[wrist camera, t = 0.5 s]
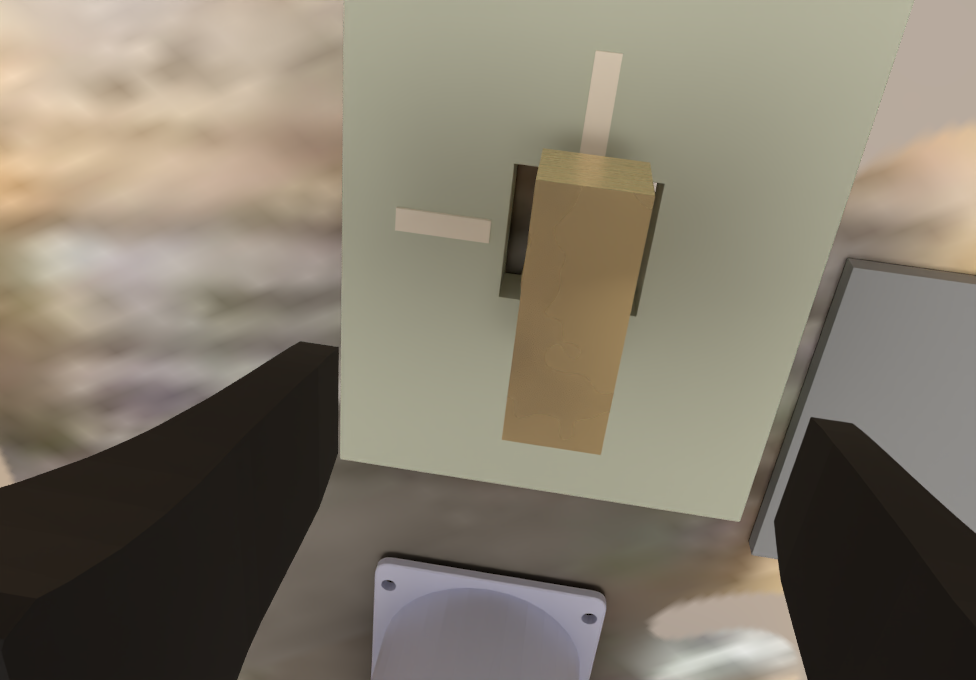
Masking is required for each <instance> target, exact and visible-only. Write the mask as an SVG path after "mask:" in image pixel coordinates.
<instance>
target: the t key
mask: <svg viewBox="0 0 976 680" xmlns="http://www.w3.org/2000/svg"><path fill="white" fill-rule="evenodd" d="M654 199H655V191H654V185H653V178H652V172H651V165H650V162H643V161H635V160H628V159H620V158H613V157H605V156H597V155H590V154H582V153H575V152H567V151H560V150H552V149H545V148H543V150H542V155H541V159H540V163H539V168H538V172H537V176H536V181H535V189H534V197H533V204H532V212H531V219H530V227H529V235H528V242H527V250H526V257H525V262H524V267H523V272H522V276H521V296H520V303H519V311H518V318H517V326H516V334H515V341H514V349H513V357H512V364H511V372H510V379H509V387H508V395H507V402H506V410H505V417H504V425H503V433H502V440H506V441H512V442H519V443H525V444H532V445H538V446H545V447H551V448H558V449H564V450H571V451H577V452H584V453H590V454H597V455H601V452H602V447H603V442H604V437H605V433H606V428H607V423H608V418H609V414H610V409H611V404H612V399H613V395H614V390H615V385H616V380H617V375H618V371H619V366H620V361H621V356H622V352H623V347H624V342H625V337H626V333H627V328H628V323H629V318H630V313H631V309H632V304H633V299H634V294H635V290H636V285H637V280H638V275H639V271H640V266H641V261H642V256H643V252H644V247H645V242H646V237H647V232H648V228H649V223H650V218H651V213H652V209H653V204H654Z"/></svg>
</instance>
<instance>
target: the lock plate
mask: <svg viewBox="0 0 976 680" xmlns="http://www.w3.org/2000/svg"><path fill="white" fill-rule="evenodd" d="M913 3H914V0H344V22H343V152H342V283H341V413H340V459H344V460H350V461H357V462H363V463H369V464H376V465H382V466H388V467H395V468H401V469H407V470H414V471H420V472H426V473H433V474H439V475H445V476H452V477H458V478H464V479H471V480H477V481H484V482H490V483H496V484H503V485H509V486H515V487H522V488H528V489H534V490H541V491H547V492H553V493H560V494H566V495H572V496H579V497H585V498H591V499H598V500H604V501H610V502H617V503H623V504H629V505H636V506H642V507H648V508H655V509H661V510H667V511H674V512H680V513H687V514H693V515H699V516H706V517H712V518H718V519H725V520H731V521H737V522H740V520H741V517H742V514H743V511H744V508H745V505H746V502H747V499H748V496H749V493H750V490H751V487H752V484H753V481H754V478H755V475H756V472H757V469H758V466H759V463H760V460H761V457H762V454H763V451H764V448H765V445H766V442H767V439H768V436H769V433H770V430H771V427H772V424H773V421H774V418H775V415H776V412H777V409H778V406H779V403H780V400H781V397H782V394H783V391H784V388H785V385H786V382H787V379H788V376H789V373H790V370H791V367H792V364H793V361H794V358H795V355H796V352H797V349H798V346H799V343H800V340H801V337H802V334H803V331H804V329H805V326H806V323H807V320H808V317H809V314H810V311H811V308H812V305H813V302H814V299H815V296H816V293H817V290H818V287H819V284H820V281H821V278H822V275H823V272H824V269H825V266H826V263H827V260H828V257H829V254H830V251H831V248H832V245H833V242H834V239H835V236H836V233H837V230H838V227H839V224H840V221H841V218H842V215H843V212H844V209H845V206H846V203H847V200H848V197H849V194H850V191H851V188H852V185H853V182H854V179H855V176H856V173H857V170H858V167H859V164H860V161H861V158H862V155H863V152H864V149H865V146H866V143H867V140H868V137H869V134H870V131H871V129H872V126H873V122H874V119H875V116H876V113H877V111H878V108H879V104H880V102H881V99H882V96H883V93H884V90H885V87H886V84H887V81H888V78H889V75H890V72H891V69H892V66H893V63H894V60H895V57H896V54H897V51H898V48H899V45H900V42H901V39H902V36H903V33H904V30H905V27H906V24H907V21H908V18H909V15H910V12H911V9H912V6H913ZM543 148H545V149H552V150H560V151H567V152H575V153H582V154H590V155H597V156H605V157H613V158H620V159H628V160H635V161H643V162H650V165H651V172H652V178H653V182H657V187H656V192H655V199H654V204H653V209H652V213H651V218H650V223H649V228H648V232H647V237H646V242H645V247H644V252H643V256H642V261H641V266H640V271H639V275H638V280H637V285H636V290H635V294H634V299H633V304H632V309H631V313H630V318H629V323H628V328H627V333H626V337H625V342H624V347H623V352H622V356H621V361H620V366H619V371H618V375H617V380H616V385H615V390H614V395H613V399H612V404H611V409H610V414H609V418H608V423H607V428H606V433H605V437H604V442H603V447H602V452H601V455H597V454H590V453H584V452H577V451H571V450H564V449H558V448H551V447H545V446H538V445H532V444H525V443H519V442H512V441H506V440H502V433H503V425H504V417H505V410H506V402H507V395H508V387H509V379H510V372H511V364H512V357H513V349H514V341H515V334H516V326H517V318H518V311H519V303H520V296H521V276H522V275H517V274H510V273H505V267H506V259H507V250H508V242H509V234H510V225H511V217H512V208H513V200H514V191H515V183H516V175H517V166H518V164H522V165H529V166H537V167H539V163H540V159H541V155H542V150H543Z"/></svg>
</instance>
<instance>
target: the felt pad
mask: <svg viewBox="0 0 976 680" xmlns="http://www.w3.org/2000/svg"><path fill="white" fill-rule="evenodd" d="M811 417H815V418H821V419H828V420H835V421H842V422H848V423H853V424H854V425H856V426H857V427H858V428H859V429H861V430H862V431H863V432H864V433H865V434H867V435H868V436H869V437H870V438H871V439H872V440H873V441H875V442H876V443H877V444H878V445H879V446H880V447H881V448H882V449H883V450H884V451H886V452H887V453H888V454H889V455H890V456H891V457H892V458H893V459H894V460H895V461H896V462H897V463H898V464H900V465H901V466H902V467H903V468H904V469H905V470H906V471H907V472H908V473H909V474H910V475H911V476H912V477H913V478H915V479H916V480H917V481H918V482H919V483H920V484H921V485H922V486H923V487H924V488H925V489H926V490H928V491H929V492H930V493H931V494H932V495H933V496H934V497H935V498H936V499H937V500H939V501H940V502H941V503H942V504H943V505H944V506H945V507H946V508H947V509H949V510H950V511H951V512H952V513H953V514H954V515H955V516H956V517H958V518H959V519H960V520H961V521H962V522H963V523H965V524H966V525H967V526H968V527H969V528H970V529H971V530H973V531H974V532H975V533H976V276H975V275H967V274H960V273H953V272H946V271H938V270H931V269H924V268H917V267H909V266H902V265H895V264H887V263H880V262H873V261H866V260H858V259H851V258H847V261H846V264H845V267H844V270H843V273H842V275H841V278H840V281H839V284H838V287H837V290H836V293H835V296H834V298H833V301H832V304H831V307H830V310H829V313H828V316H827V319H826V321H825V324H824V327H823V330H822V333H821V336H820V339H819V342H818V344H817V347H816V350H815V353H814V356H813V359H812V362H811V365H810V367H809V370H808V373H807V376H806V379H805V382H804V385H803V388H802V390H801V393H800V396H799V399H798V402H797V405H796V408H795V411H794V413H793V416H792V419H791V422H790V425H789V428H788V431H787V433H786V436H785V439H784V442H783V445H782V448H781V451H780V454H779V456H778V459H777V462H776V465H775V468H774V471H773V474H772V477H771V479H770V482H769V485H768V488H767V491H766V494H765V497H764V500H763V502H762V505H761V508H760V511H759V514H758V517H757V520H756V523H755V525H754V528H753V531H752V534H751V537H750V540H749V545H750V549H751V554H752V555H755V556H761V557H767V558H774V559H778V556H777V547H776V538H775V528H774V519H775V516H776V513H777V510H778V508H779V505H780V502H781V499H782V496H783V494H784V491H785V488H786V485H787V482H788V480H789V477H790V474H791V471H792V468H793V466H794V463H795V460H796V457H797V454H798V452H799V449H800V446H801V443H802V440H803V437H804V435H805V432H806V429H807V426H808V423H809V421H810V418H811Z"/></svg>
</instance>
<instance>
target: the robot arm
mask: <svg viewBox="0 0 976 680" xmlns="http://www.w3.org/2000/svg"><path fill="white" fill-rule="evenodd" d="M338 360H339V347H334V346H327V345H320V344H314V343H307V342H299V343H297V344H295V345H293V346H291V347H290V348H288V349H287V350H285V351H283V352H282V353H280V354H279V355H277V356H275V357H274V358H272V359H271V360H269V361H268V362H266V363H264V364H263V365H261V366H260V367H258V368H257V369H255V370H254V371H252V372H250V373H249V374H247V375H246V376H244V377H242V378H241V379H239V380H237V381H236V382H234V383H233V384H231V385H229V386H228V387H226V388H224V389H223V390H221V391H220V392H218V393H216V394H215V395H213V396H211V397H210V398H208V399H206V400H204V401H202V402H201V403H199V404H197V405H195V406H193V407H191V408H190V409H188V410H186V411H184V412H182V413H180V414H179V415H177V416H175V417H173V418H171V419H170V420H168V421H166V422H164V423H162V424H160V425H159V426H157V427H155V428H153V429H151V430H149V431H147V432H144V433H142V434H140V435H138V436H136V437H134V438H132V439H130V440H127V441H125V442H123V443H121V444H118V445H116V446H114V447H111V448H109V449H107V450H104V451H102V452H100V453H97V454H95V455H93V456H90V457H88V458H85V459H83V460H80V461H77V462H74V463H71V464H68V465H66V466H63V467H60V468H57V469H54V470H52V471H49V472H46V473H43V474H40V475H37V476H35V477H32V478H29V479H26V480H23V481H21V482H17V483H14V484H11V485H8V486H4V487H1V488H0V680H237V678H238V676H239V673H240V670H241V668H242V665H243V663H244V660H245V657H246V655H247V652H248V650H249V647H250V645H251V643H252V641H253V639H254V636H255V634H256V632H257V630H258V628H259V625H260V623H261V621H262V619H263V617H264V615H265V613H266V611H267V609H268V608H269V606H270V604H271V602H272V600H273V598H274V596H275V594H276V592H277V590H278V588H279V586H280V584H281V582H282V580H283V578H284V576H285V574H286V572H287V570H288V568H289V566H290V564H291V563H292V561H293V559H294V557H295V555H296V553H297V551H298V549H299V547H300V545H301V543H302V541H303V539H304V537H305V535H306V533H307V531H308V529H309V527H310V525H311V523H312V521H313V519H314V517H315V515H316V513H317V511H318V509H319V507H320V504H321V501H322V498H323V495H324V493H325V490H326V487H327V484H328V481H329V478H330V475H331V472H332V469H333V466H334V463H335V460H336V457H337V454H338ZM774 528H775V538H776V547H777V556H778V563H779V570H780V577H781V583H782V587H783V591H784V595H785V599H786V602H787V606H788V610H789V614H790V617H791V621H792V625H793V629H794V632H795V636H796V639H797V643H798V647H799V650H800V654H801V657H802V661H803V665H804V668H805V672H806V675H807V679H808V680H976V533H975V532H974V531H973V530H971V529H970V528H969V527H968V526H967V525H966V524H965V523H963V522H962V521H961V520H960V519H959V518H958V517H956V516H955V515H954V514H953V513H952V512H951V511H950V510H949V509H947V508H946V507H945V506H944V505H943V504H942V503H941V502H940V501H939V500H937V499H936V498H935V497H934V496H933V495H932V494H931V493H930V492H929V491H928V490H926V489H925V488H924V487H923V486H922V485H921V484H920V483H919V482H918V481H917V480H916V479H915V478H913V477H912V476H911V475H910V474H909V473H908V472H907V471H906V470H905V469H904V468H903V467H902V466H901V465H900V464H898V463H897V462H896V461H895V460H894V459H893V458H892V457H891V456H890V455H889V454H888V453H887V452H886V451H884V450H883V449H882V448H881V447H880V446H879V445H878V444H877V443H876V442H875V441H873V440H872V439H871V438H870V437H869V436H868V435H867V434H865V433H864V432H863V431H862V430H861V429H859V428H858V427H857V426H856V425H854V424H853V423H848V422H842V421H835V420H828V419H821V418H815V417H811V418H810V421H809V423H808V426H807V429H806V432H805V435H804V437H803V440H802V443H801V446H800V449H799V452H798V454H797V457H796V460H795V463H794V466H793V468H792V471H791V474H790V477H789V480H788V482H787V485H786V488H785V491H784V494H783V496H782V499H781V502H780V505H779V508H778V510H777V513H776V516H775V519H774ZM386 580H390V581H393V582H388V581H386ZM588 613H591V614H593V615H586V614H588ZM605 613H606V598H605V597H604V595H603V594H601V593H600V592H597V591H594V590H588V589H582V588H576V587H569V586H563V585H557V584H551V583H545V582H539V581H533V580H527V579H521V578H515V577H509V576H503V575H496V574H490V573H484V572H478V571H472V570H466V569H460V568H454V567H448V566H442V565H436V564H429V563H423V562H417V561H411V560H405V559H399V558H393V557H386V558H383V559H381V560H380V561H379V562H378V565H377V568H376V571H375V590H374V616H373V642H372V668H371V680H589V679H590V675H591V670H592V666H593V662H594V658H595V654H596V650H597V646H598V642H599V638H600V633H601V629H602V625H603V621H604V617H605Z"/></svg>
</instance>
